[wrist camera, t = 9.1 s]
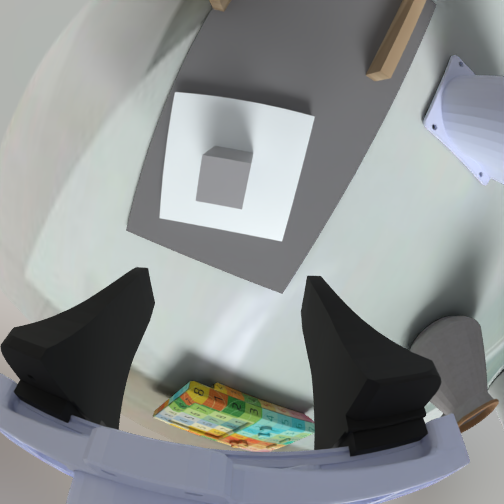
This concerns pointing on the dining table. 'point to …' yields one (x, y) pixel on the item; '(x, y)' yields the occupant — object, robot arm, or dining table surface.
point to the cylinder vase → (498, 396)
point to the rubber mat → (287, 97)
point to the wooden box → (392, 41)
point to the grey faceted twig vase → (458, 368)
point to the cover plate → (238, 132)
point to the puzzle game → (234, 418)
